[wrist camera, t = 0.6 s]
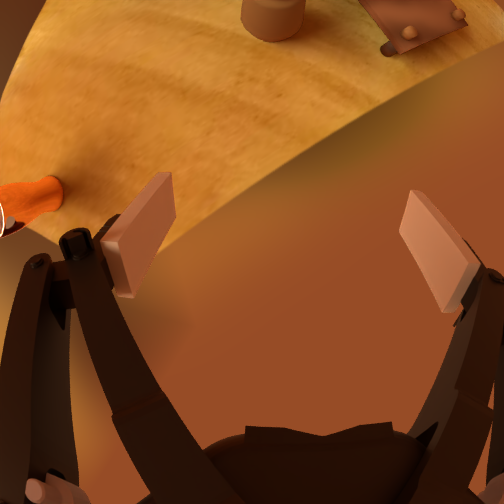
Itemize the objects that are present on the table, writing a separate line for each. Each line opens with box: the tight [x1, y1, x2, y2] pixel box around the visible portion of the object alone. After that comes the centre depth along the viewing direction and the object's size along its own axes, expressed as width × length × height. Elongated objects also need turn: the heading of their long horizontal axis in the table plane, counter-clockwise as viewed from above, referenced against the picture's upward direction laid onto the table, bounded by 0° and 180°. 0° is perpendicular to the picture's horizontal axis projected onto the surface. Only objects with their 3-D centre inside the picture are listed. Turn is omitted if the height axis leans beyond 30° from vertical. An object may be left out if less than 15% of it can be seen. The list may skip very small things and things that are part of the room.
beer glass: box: [0, 176, 63, 238], centre depth 33 cm, size 7×7×15 cm
